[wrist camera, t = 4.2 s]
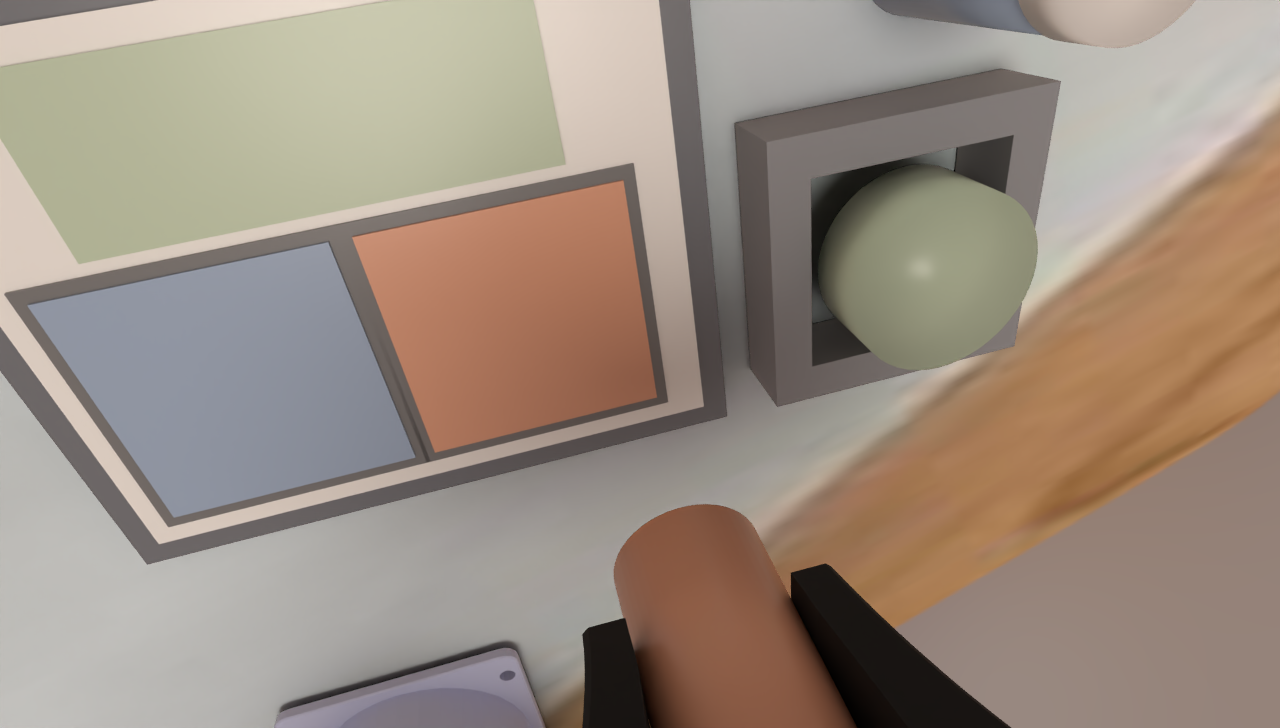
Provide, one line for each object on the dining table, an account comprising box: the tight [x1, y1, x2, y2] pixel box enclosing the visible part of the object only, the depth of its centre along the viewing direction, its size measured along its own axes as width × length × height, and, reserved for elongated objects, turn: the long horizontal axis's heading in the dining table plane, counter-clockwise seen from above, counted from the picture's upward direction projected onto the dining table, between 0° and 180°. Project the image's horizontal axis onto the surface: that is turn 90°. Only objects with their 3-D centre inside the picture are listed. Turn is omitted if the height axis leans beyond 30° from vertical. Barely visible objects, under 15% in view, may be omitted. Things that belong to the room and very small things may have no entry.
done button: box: [818, 164, 1038, 370], centre depth 16 cm, size 4×4×2 cm
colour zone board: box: [0, 0, 727, 564], centre depth 16 cm, size 13×16×1 cm
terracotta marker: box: [614, 504, 857, 728], centre depth 10 cm, size 3×3×6 cm
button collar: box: [735, 69, 1061, 407], centre depth 18 cm, size 7×7×2 cm
